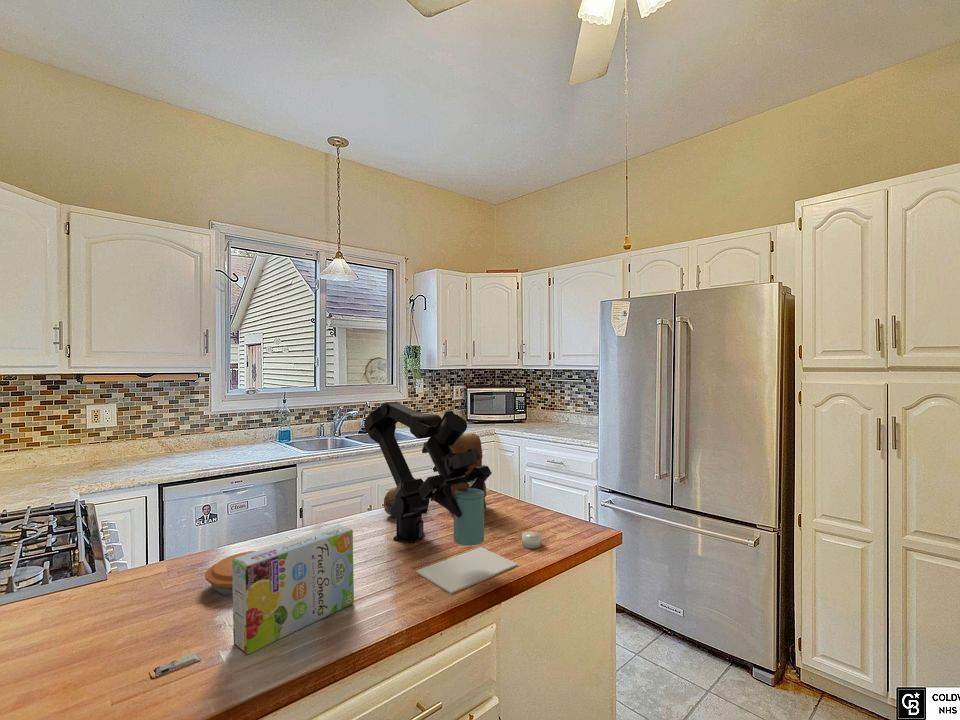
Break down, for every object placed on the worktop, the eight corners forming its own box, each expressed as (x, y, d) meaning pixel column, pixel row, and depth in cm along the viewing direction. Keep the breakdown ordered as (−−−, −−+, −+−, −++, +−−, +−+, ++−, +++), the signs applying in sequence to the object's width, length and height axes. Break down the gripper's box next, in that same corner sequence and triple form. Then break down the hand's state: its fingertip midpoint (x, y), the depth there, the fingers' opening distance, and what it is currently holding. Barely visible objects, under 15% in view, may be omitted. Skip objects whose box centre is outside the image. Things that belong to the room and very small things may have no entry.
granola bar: (197, 656, 78) (197, 650, 78) (201, 663, 76) (201, 656, 76) (148, 675, 73) (148, 668, 73) (151, 682, 71) (150, 675, 71)
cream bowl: (519, 546, 121) (519, 537, 121) (524, 539, 126) (524, 530, 126) (538, 549, 120) (538, 539, 120) (542, 542, 124) (542, 532, 124)
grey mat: (451, 594, 97) (451, 592, 97) (415, 572, 107) (415, 570, 107) (517, 565, 110) (517, 563, 110) (481, 548, 120) (481, 547, 120)
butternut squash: (468, 499, 162) (468, 427, 162) (494, 509, 151) (494, 432, 151) (435, 507, 153) (435, 431, 153) (460, 518, 142) (460, 436, 142)
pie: (207, 609, 91) (207, 584, 91) (203, 578, 104) (203, 556, 104) (290, 588, 100) (290, 565, 100) (277, 561, 113) (277, 541, 113)
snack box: (338, 595, 97) (338, 522, 97) (354, 604, 93) (354, 529, 93) (231, 643, 80) (231, 556, 80) (246, 657, 77) (246, 566, 77)
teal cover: (448, 537, 110) (448, 490, 110) (474, 531, 114) (474, 486, 113) (462, 547, 104) (463, 498, 104) (489, 541, 108) (489, 494, 107)
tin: (388, 519, 142) (388, 492, 142) (382, 517, 144) (382, 490, 144) (423, 507, 154) (423, 481, 154) (416, 505, 156) (416, 480, 155)
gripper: (426, 442, 105) (457, 502, 97) (486, 433, 118) (518, 486, 110) (406, 470, 111) (434, 529, 103) (466, 458, 124) (495, 510, 116)
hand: (472, 512), depth 108 cm, fingers closed on teal cover, 7 cm apart
